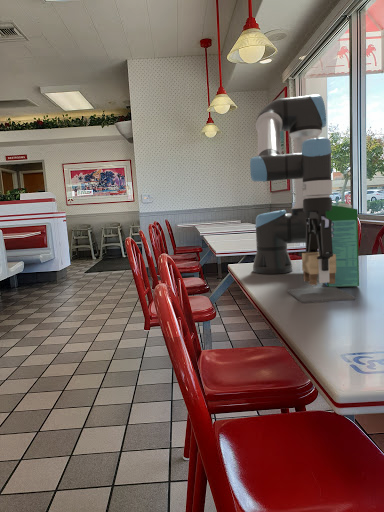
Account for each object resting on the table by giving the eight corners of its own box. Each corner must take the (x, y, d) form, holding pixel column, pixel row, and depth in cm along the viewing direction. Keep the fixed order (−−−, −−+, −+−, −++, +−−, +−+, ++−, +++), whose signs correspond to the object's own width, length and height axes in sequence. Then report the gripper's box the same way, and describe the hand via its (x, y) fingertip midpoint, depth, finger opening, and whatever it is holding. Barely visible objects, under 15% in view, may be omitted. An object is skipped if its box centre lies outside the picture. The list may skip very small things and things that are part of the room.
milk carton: (359, 286, 113) (357, 201, 112) (327, 286, 115) (324, 203, 113) (352, 282, 122) (351, 203, 120) (323, 282, 124) (321, 205, 122)
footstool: (302, 280, 111) (301, 253, 110) (326, 278, 111) (326, 251, 110) (310, 285, 104) (310, 256, 103) (336, 283, 104) (335, 254, 103)
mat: (287, 291, 115) (287, 289, 115) (333, 288, 115) (333, 286, 115) (302, 302, 101) (302, 300, 101) (354, 299, 101) (354, 297, 101)
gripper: (293, 199, 114) (295, 274, 117) (316, 196, 95) (318, 287, 97) (317, 197, 115) (319, 273, 117) (346, 194, 95) (347, 285, 97)
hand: (318, 279), depth 107 cm, fingers closed on footstool, 7 cm apart
